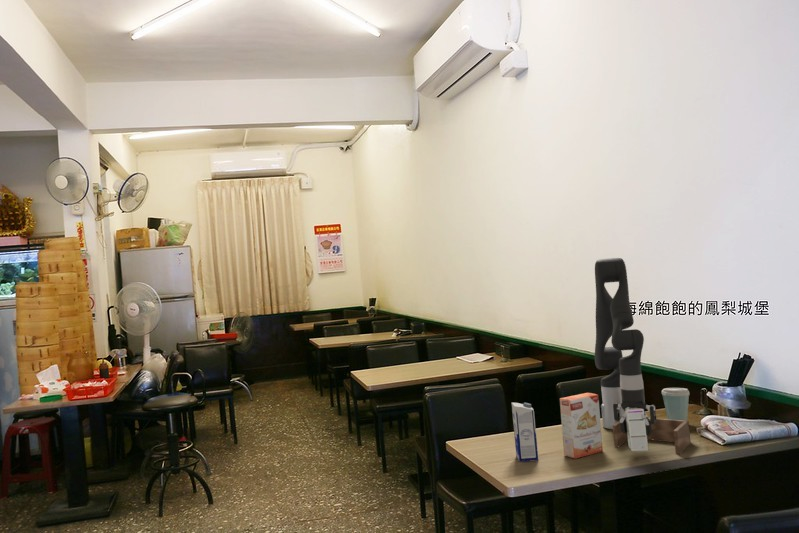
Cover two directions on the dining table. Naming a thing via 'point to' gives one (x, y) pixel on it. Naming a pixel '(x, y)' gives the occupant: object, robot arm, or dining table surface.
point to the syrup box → (636, 430)
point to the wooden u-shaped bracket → (661, 433)
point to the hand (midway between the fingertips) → (636, 434)
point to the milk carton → (524, 432)
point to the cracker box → (581, 425)
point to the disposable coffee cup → (676, 403)
